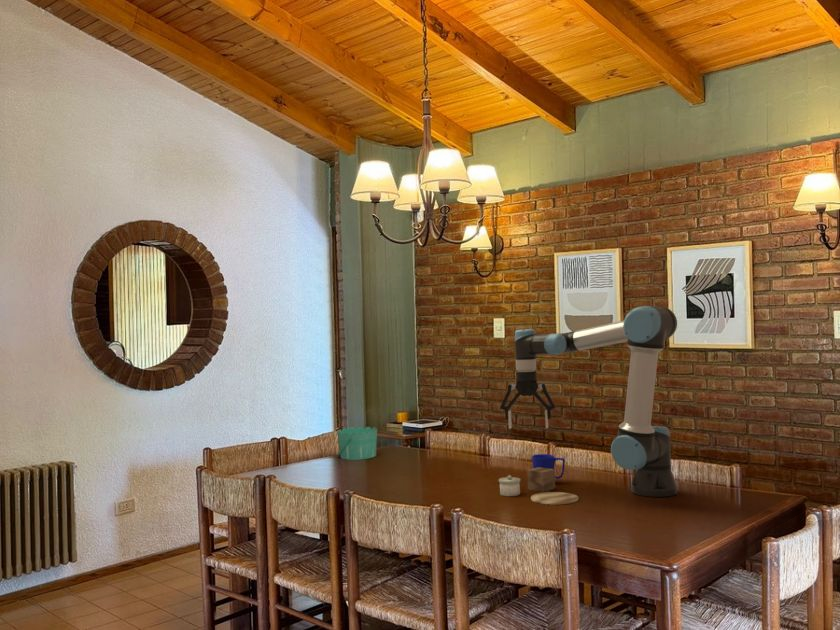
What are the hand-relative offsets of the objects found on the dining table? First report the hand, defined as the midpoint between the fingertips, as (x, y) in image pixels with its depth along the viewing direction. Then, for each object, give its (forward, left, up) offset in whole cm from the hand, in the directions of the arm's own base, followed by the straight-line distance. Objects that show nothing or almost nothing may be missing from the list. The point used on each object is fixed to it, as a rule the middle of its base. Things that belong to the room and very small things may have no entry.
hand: (528, 428), depth 277 cm
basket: (+102, 0, -21) cm, 104 cm away
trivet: (-20, +13, -21) cm, 32 cm away
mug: (-3, -7, -21) cm, 23 cm away
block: (-7, +3, -21) cm, 22 cm away
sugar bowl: (-3, +16, -21) cm, 26 cm away
